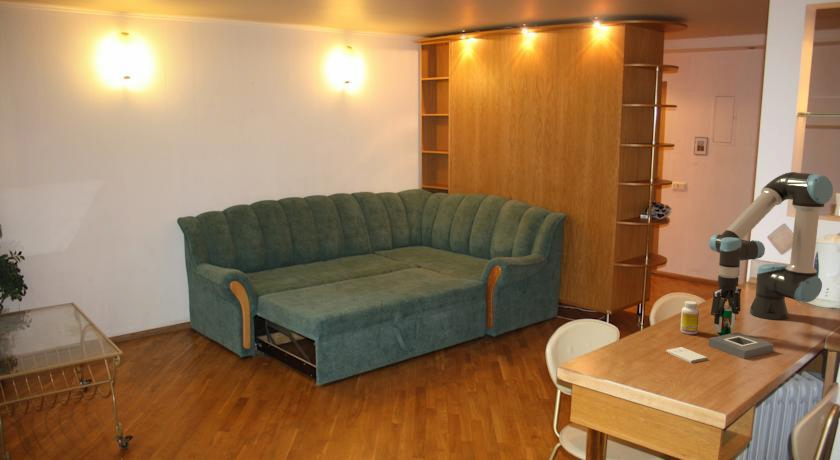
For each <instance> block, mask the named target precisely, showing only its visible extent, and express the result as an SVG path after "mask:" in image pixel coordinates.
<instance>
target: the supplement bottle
mask: <svg viewBox="0 0 840 460" xmlns="http://www.w3.org/2000/svg"><path fill="white" fill-rule="evenodd" d="M697 306H698V303H697V302H696V301H692V300H686V301H684V306H683V307H682V308H681V314H680V315H681V316H680V333H682V334H685V335H696V334H697V333H698V331H699V316H700V315H699V313H700V311H699V309H698V308H697Z"/></svg>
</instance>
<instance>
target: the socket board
mask: <svg viewBox="0 0 840 460" xmlns="http://www.w3.org/2000/svg"><path fill="white" fill-rule="evenodd" d="M774 345H775V344H773V343H771V342H767V341H764V340H761V339H758V338H755V337H753V336H749V335H746V334H743V333H740V332H737V331H736V332H731V334H727V335H722V336H720V335H718V336H713V337H709V338H708V347H712V348H714V349H717V350H720V351H722V352H724V353H728V354H730V355H732V356H735V357H738V358H740V359H743V360H746V359H749V358H755V357H758V356H762V355H766V354H771V353H773V352H774Z"/></svg>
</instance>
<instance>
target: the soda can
mask: <svg viewBox="0 0 840 460" xmlns="http://www.w3.org/2000/svg"><path fill="white" fill-rule="evenodd" d="M732 313H733V310H732V307H730V306H729V305H726V304H725V305H724V308H723V311H722V313H721V317H722V325H721V332H720V333H719V332H716V333H717V335H718V336H722V335H727V334H731V333H732V329H731V326H732Z"/></svg>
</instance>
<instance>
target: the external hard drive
mask: <svg viewBox="0 0 840 460" xmlns="http://www.w3.org/2000/svg"><path fill="white" fill-rule="evenodd" d="M667 352H668V354H669V353H670V354H669V355H671V356H674V357H677V358H678V359H681V360H684V361H685V362H688V363H690V364H693V363H698V362H704V361H708V359H709V358H708V356H705V355H703V354H701V353H698V352H695V351H693V350H691V349H687V348H685V347H683V346H680V347H673V348H669V349H666V351H665V353H667Z"/></svg>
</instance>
